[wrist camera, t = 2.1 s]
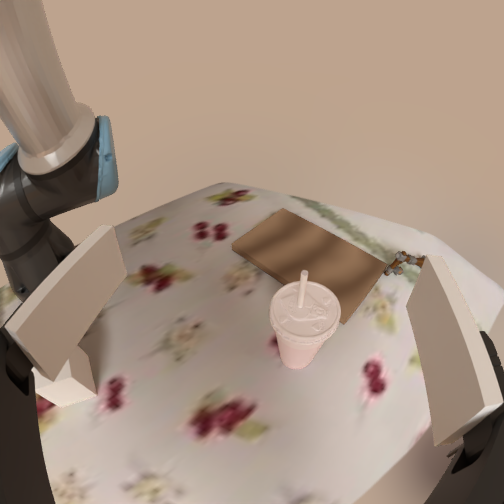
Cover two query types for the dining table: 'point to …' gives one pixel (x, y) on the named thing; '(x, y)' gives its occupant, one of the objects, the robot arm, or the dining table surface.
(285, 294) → the smoothie
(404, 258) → the wooden post with brackets
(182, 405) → the dining table surface
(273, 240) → the walnut board
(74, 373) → the off-white cube
